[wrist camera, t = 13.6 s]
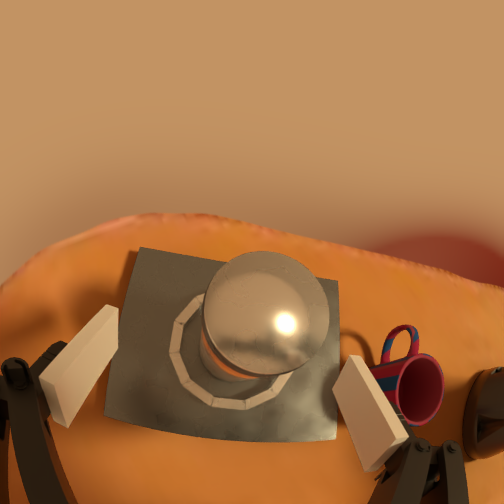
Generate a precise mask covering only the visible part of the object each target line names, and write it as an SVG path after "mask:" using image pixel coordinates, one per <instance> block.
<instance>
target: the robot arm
mask: <svg viewBox="0 0 504 504" xmlns="http://www.w3.org/2000/svg"><path fill="white" fill-rule="evenodd" d="M117 349H118V308H116V307H113V306H110V305H107V304H106V305H105V306H104V307H103V308H102V309H101V310H100V311H99V312H98V313H97V314H96V315H95V316H94V317H93V318H92V319H91V320H90V321H89V322H88V323H87V324H86V325H85V326H84V327H83V328H82V330H81V331H80V332H79V333H78V334H77V335H76V336H75V337H74V338H73V339H72V340H71V341H70V342H69V343H68V344H67V343H65V342H63V341H59V342H56V343H54V344H52V345H51V346H50V347H49V348H48V349H47V350H46V352H44V353H43V354H42V356H40V357H39V358H38V360H37V361H36V362H35V363H34V364H33V365H32V366H31V367H30V368H29V366H28V363H27V362H26V361H25V360H23V359H21V358H16V357H13V358H9V359H7V360H5V361H4V362H3V363H2V365H1V371H2V374H3V376H1V375H0V504H10V503H9V491H8V446H9V432H10V428H11V434H12V440H13V445H14V450H15V455H16V459H17V463H18V467H19V471H20V475H21V478H22V482H23V485H24V488H25V491H26V494H27V497H28V500H29V503H30V504H78V503H77V501H76V498H75V496H74V494H73V492H72V490H71V487H70V485H69V483H68V480H67V478H66V475H65V473H64V470H63V467H62V465H61V462H60V459H59V456H58V453H57V450H56V447H55V444H54V441H53V437H52V434H51V430H50V426H49V423H48V420H47V418H48V416H49V415H50V413H51V415H52V418H53V420H54V421H55V422H57V423H59V424H61V425H63V426H65V427H67V428H69V426H70V424H71V422H72V421H73V419H74V417H75V416H76V414H77V412H78V411H79V409H80V407H81V406H82V404H83V402H84V401H85V399H86V397H87V396H88V394H89V393H90V391H91V389H92V388H93V386H94V385H95V383H96V381H97V380H98V378H99V377H100V375H101V374H102V372H103V370H104V369H105V367H106V366H107V364H108V363H109V361H110V360H111V358H112V357H113V355H114V354H115V352H116V351H117ZM332 390H333V393H334V395H335V398H336V400H337V403H338V405H339V408H340V410H341V413H342V415H343V418H344V421H345V423H346V426H347V428H348V431H349V433H350V436H351V438H352V441H353V444H354V446H355V449H356V451H357V454H358V457H359V459H360V462H361V465H362V467H363V470H364V473H365V472H371V471H376V470H378V469H379V468H380V467H381V466H382V465H383V464H384V465H385V467H386V469H385V470H384V471H383V472H381V473H380V474H379V475H378V476H377V477H376V478H375V481H376V480H377V479H378V478H380V479H379V481H378V483H377V485H376V488H375V490H374V492H373V494H372V496H371V498H370V500H369V502H368V504H469V497H468V488H467V480H466V473H465V467H464V461H463V456H462V451H461V448H460V446H459V444H458V443H457V442H455V441H452V440H447V441H445V442H444V443H443V444H442V446H441V447H437V446H431V444H430V443H429V442H428V441H427V440H425V439H423V438H416V436H415V434H414V433H413V431H412V429H411V428H410V426H409V424H408V423H407V421H406V420H405V418H404V416H403V415H402V413H401V411H400V409H399V408H398V407H397V406H396V405H395V404H394V403H393V402H392V401H388V400H387V398H386V396H385V395H384V393H383V392H382V390H381V388H380V387H379V385H378V383H377V382H376V380H375V378H374V377H373V375H372V374H371V372H370V370H369V369H368V367H367V365H366V364H365V362H364V361H363V359H362V357H361V356H356V355H349V357H348V359H347V361H346V363H345V365H344V367H343V369H342V371H341V373H340V375H339V377H338V379H337V381H336V383H335V385H334V386H333V388H332ZM463 442H464V447H465V451H466V453H467V454H468V456H469V457H470V458H472V459H485V458H489V457H492V456H494V455H496V454H499V453H501V452H503V451H504V367H494V368H491V369H488V370H485V371H484V372H482V373H481V374H480V375H479V376H478V378H477V379H476V381H475V383H474V385H473V387H472V389H471V392H470V394H469V398H468V401H467V405H466V409H465V415H464V422H463ZM439 475H440V480H439V481H437V477H438V476H439Z"/></svg>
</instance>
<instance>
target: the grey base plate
mask: <svg viewBox="0 0 504 504" xmlns="http://www.w3.org/2000/svg"><path fill="white" fill-rule="evenodd" d="M226 263H227V262H221V261H216V260H210V259H204V258H199V257H193V256H188V255H182V254H176V253H171V252H165V251H160V250H155V249H149V248H144V247H140V248H139V252H138V255H137V258H136V261H135V265H134V268H133V272H132V275H131V279H130V282H129V286H128V289H127V293H126V297H125V301H124V305H123V309H122V313H121V317H120V322H119V326H118V349H117V351H116V352H115V354H114V355H113V357H112V361H111V366H110V372H109V378H108V385H107V392H106V399H105V408H104V416H107V417H110V418H113V419H117V420H120V421H124V422H127V423H131V424H135V425H139V426H143V427H147V428H151V429H156V430H161V431H166V432H171V433H176V434H182V435H188V436H195V437H202V438H211V439H220V440H231V441H246V442H306V441H321V440H333V439H336V430H337V417H338V403H337V400H336V398H335V395H334V393H333V390H332V388H333V386H334V385H335V383H336V381H337V379H338V377H339V371H340V323H339V293H338V281H336V280H330V279H323V278H317V277H316V279H317V280H318V281H319V283H320V285H321V286H322V288H323V290H324V292H325V295H326V298H327V301H328V306H329V327H328V332H327V335H326V338H325V340H324V342H323V344H322V346H321V347H320V349H319V350H318V352H317V353H316V354H315V355H314V356H313V357H312V358H311V359H310V360H309V361H308V362H306V363H305V364H304V365H303V366H301V367H300V368H298V369H296V370H294V371H292V372H290V373H287V374H283V375H279V376H274V377H267V378H255V379H251V380H245V381H240V382H227V381H223V380H220V379H218V378H216V377H215V376H213V375H212V374H211V373H210V372H209V371H208V370H207V369H206V368H205V366H204V365H203V363H202V360H201V357H200V350H199V348H200V338H201V330H202V323H201V313H202V303H203V298H204V294H205V292H206V289H207V287H208V285H209V283H210V281H211V280H212V278H213V277H214V276H215V274H216V273H217V272H218V271H219V269H220V268H222V267H223V266H224V265H225V264H226Z"/></svg>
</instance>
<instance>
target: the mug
mask: <svg viewBox="0 0 504 504" xmlns="http://www.w3.org/2000/svg"><path fill="white" fill-rule="evenodd" d="M403 330H407V331H408V332H409V334H410V337H411V345H410V349H409V352H408V354H407V356H406V357H404V358H401V359H398V360H394V361H391V362H390V349H391V346H392V343H393V340H394V338H395V337H396V335H397V334H398V333H400V332H401V331H403ZM418 350H419V336H418V332H417V330H416V328H415V327H414V326H411V325H401V326H398V327H395V328H394V329H393V330H392V331H391V332H390V333H389V334H388V336H387V338H386V340H385V342H384V346H383V350H382V355H381V362H380V364H379V365H377V366H373V367H371V368H369V370H370V372H371V374H372V375H373V377H374V378H375V380H376V382H377V383H378V385H379V387H380V388H381V390H382V392H383V393H384V395H385V396H386V398H387V400H388V401H392V402H393V403H394V404H395V405H396V406H397V407H398V408H399V409H400V411H401V413H402V415H403V416H404V418H405V420H406V421H407V423H408V424H409V426H422V425H424V424H426V423H427V422H429V421H430V420H431V419H432V418H433V417H434V416H435V415H436V413H437V411H438V410H439V408H440V405H441V403H442V400H443V395H444V377H443V373H442V370H441V368H440V366H439V364H438V362H437V361H436V360H435V359H434V358H433V357H432V356H430V355H428V354H423V353H420V354H418Z"/></svg>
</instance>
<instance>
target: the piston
mask: <svg viewBox="0 0 504 504" xmlns="http://www.w3.org/2000/svg"><path fill="white" fill-rule="evenodd" d="M201 323H202V330H201V338H200V348H199V350H200V357H201V360H202V363H203V365H204V366H205V368H206V369H207V370H208V371H209V372H210V373H211V374H212V375H213V376H215V377H216V378H218V379H220V380H223V381H227V382H240V381H245V380H251V379H255V378H267V377H274V376H279V375H283V374H287V373H290V372H292V371H294V370H296V369H298V368H300V367H301V366H303V365H304V364H305V363H306V362H308V361H309V360H310V359H311V358H312V357H313V356H314V355H315V354H316V353H317V352H318V350H319V349H320V347H321V346H322V344H323V342H324V340H325V338H326V335H327V332H328V327H329V306H328V301H327V298H326V295H325V292H324V290H323V288H322V286H321V285H320V283H319V281H318V280H317V279H316V277H315V276H314V275H313V274H312V273H311V272H310V271H309V270H308V269H307V268H306V267H305V266H304V265H302V264H301V263H299V262H298V261H296V260H295V259H293V258H291V257H288V256H286V255H283V254H280V253H276V252H269V251H257V252H250V253H246V254H243V255H240V256H237V257H236V258H234V259H232V260H230V261H229V262H227V263H226V264H225V265H224V266H223V267H222V268H220V269H219V271H218V272H217V273H216V274H215V276H214V277H213V278H212V280H211V281H210V283H209V285H208V287H207V289H206V292H205V294H204V298H203V303H202V313H201Z"/></svg>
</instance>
